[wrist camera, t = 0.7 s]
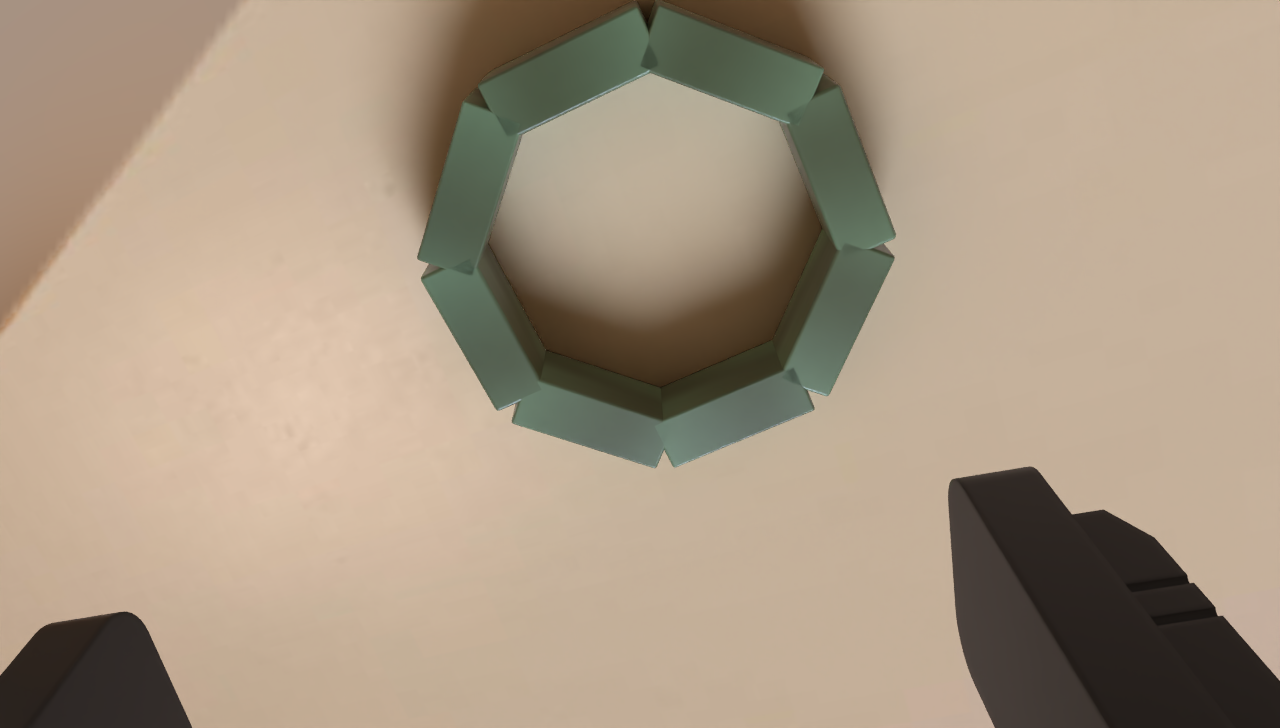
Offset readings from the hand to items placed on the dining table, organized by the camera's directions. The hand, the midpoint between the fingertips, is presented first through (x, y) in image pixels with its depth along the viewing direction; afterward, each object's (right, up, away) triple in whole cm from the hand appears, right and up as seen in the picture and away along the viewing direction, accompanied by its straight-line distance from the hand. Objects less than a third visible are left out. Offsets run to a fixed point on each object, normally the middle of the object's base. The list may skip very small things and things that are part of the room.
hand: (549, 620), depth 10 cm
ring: (+1, +6, +16) cm, 17 cm away
